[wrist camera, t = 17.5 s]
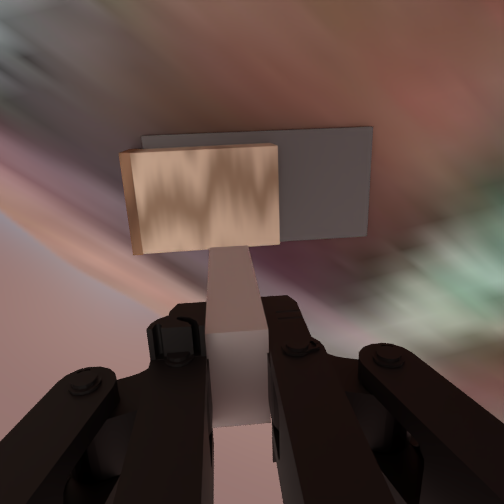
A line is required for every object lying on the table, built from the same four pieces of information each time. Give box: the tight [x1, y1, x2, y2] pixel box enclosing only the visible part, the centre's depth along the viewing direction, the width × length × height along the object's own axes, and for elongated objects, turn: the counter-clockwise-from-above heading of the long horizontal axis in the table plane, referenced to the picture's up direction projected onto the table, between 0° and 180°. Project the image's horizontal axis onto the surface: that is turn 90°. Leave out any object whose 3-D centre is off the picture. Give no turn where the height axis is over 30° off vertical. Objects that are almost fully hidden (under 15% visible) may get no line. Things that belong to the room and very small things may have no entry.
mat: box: [141, 127, 373, 242], centre depth 37 cm, size 10×20×1 cm, turn 92°
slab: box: [119, 143, 280, 255], centre depth 34 cm, size 8×4×12 cm
